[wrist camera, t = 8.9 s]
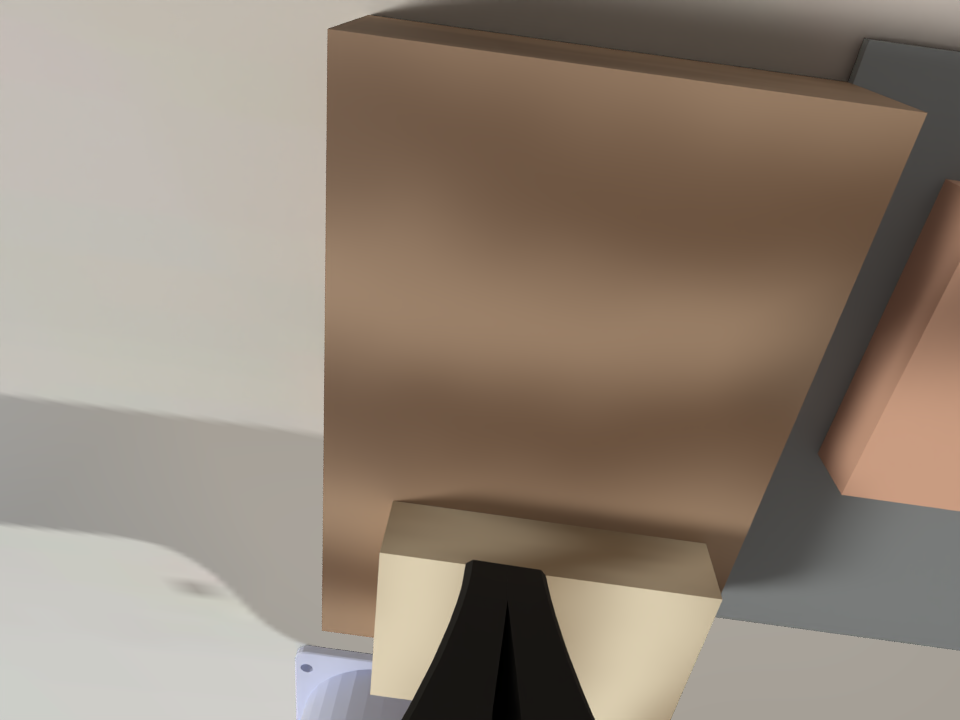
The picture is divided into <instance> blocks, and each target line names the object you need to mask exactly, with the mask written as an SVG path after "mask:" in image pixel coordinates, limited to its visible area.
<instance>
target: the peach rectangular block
mask: <svg viewBox="0 0 960 720" xmlns="http://www.w3.org/2000/svg"><path fill="white" fill-rule="evenodd" d="M818 455H819V457H820V458H821V460H822V462H823V464H824V465H825V467H826V469H827V471H828V472H829V474H830V476H831V478H832V479H833V481H834V483H835V484H836V486H837V488H838V490H839V491H840V493H841V495H847V496H854V497H861V498H868V499H876V500H883V501H890V502H897V503H904V504H911V505H918V506H926V507H933V508H940V509H947V510H954V511H960V181H956V180H949V179H945V182H944V184H943V186H942V188H941V190H940V192H939V194H938V197H937V199H936V201H935V203H934V205H933V207H932V209H931V212H930V214H929V216H928V218H927V220H926V222H925V224H924V227H923V229H922V231H921V233H920V235H919V237H918V239H917V242H916V244H915V246H914V248H913V250H912V252H911V254H910V257H909V259H908V261H907V263H906V265H905V267H904V269H903V272H902V274H901V276H900V278H899V280H898V282H897V284H896V287H895V289H894V291H893V293H892V295H891V297H890V299H889V302H888V304H887V306H886V308H885V310H884V312H883V314H882V317H881V319H880V321H879V323H878V325H877V327H876V329H875V332H874V334H873V336H872V338H871V340H870V342H869V345H868V347H867V349H866V351H865V353H864V355H863V357H862V360H861V362H860V364H859V366H858V368H857V370H856V372H855V375H854V377H853V379H852V381H851V383H850V385H849V387H848V390H847V392H846V394H845V396H844V398H843V400H842V402H841V405H840V407H839V409H838V411H837V413H836V415H835V417H834V420H833V422H832V424H831V426H830V428H829V430H828V432H827V435H826V437H825V439H824V441H823V443H822V445H821V447H820V450H819V452H818Z"/></svg>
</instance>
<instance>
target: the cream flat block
mask: <svg viewBox="0 0 960 720" xmlns="http://www.w3.org/2000/svg"><path fill="white" fill-rule="evenodd" d="M471 560H479V561H486V562H492V563H499V564H506V565H512V566H519V567H526V568H532V569H539V570H542V571H543V573H544V574H545V575H546V578H547V583H548V588H549V592H550V596H551V600H552V603H553V607H554V610H555V614H556V617H557V621H558V624H559V627H560V630H561V633H562V636H563V639H564V642H565V645H566V648H567V651H568V653H569V656H570V659H571V661H572V664H573V667H574V669H575V672H576V674H577V677H578V680H579V682H580V685H581V687H582V690H583V692H584V695H585V697H586V700H587V702H588V704H589V707H590V709H591V712H592V714H593V716H594V718H595V720H671V717H672V715H673V713H674V711H675V708H676V706H677V704H678V701H679V699H680V697H681V694H682V692H683V690H684V687H685V685H686V683H687V681H688V678H689V676H690V674H691V671H692V669H693V666H694V664H695V662H696V660H697V657H698V655H699V653H700V651H701V648H702V646H703V644H704V641H705V639H706V637H707V634H708V632H709V630H710V627H711V625H712V623H713V621H714V618H715V616H716V614H717V611H718V609H719V607H720V604H721V602H722V600H723V599H722V596H721V593H720V589H719V586H718V582H717V579H716V576H715V572H714V569H713V566H712V562H711V559H710V556H709V552H708V549H707V546H706V544H704V543H697V542H690V541H683V540H675V539H668V538H661V537H653V536H646V535H639V534H632V533H624V532H617V531H610V530H602V529H595V528H588V527H580V526H573V525H566V524H559V523H551V522H544V521H537V520H529V519H522V518H515V517H508V516H500V515H493V514H486V513H478V512H471V511H464V510H456V509H449V508H442V507H435V506H427V505H420V504H413V503H405V502H398V501H393V503H392V507H391V511H390V514H389V518H388V522H387V526H386V530H385V534H384V538H383V542H382V546H381V549H380V555H379V570H378V585H377V600H376V615H375V630H374V646H373V660H372V675H371V690H370V695H376V696H384V697H391V698H399V699H406V700H413V698H414V696H415V694H416V692H417V690H418V688H419V686H420V684H421V682H422V680H423V678H424V677H425V675H426V673H427V671H428V669H429V667H430V665H431V663H432V661H433V659H434V656H435V654H436V652H437V649H438V647H439V645H440V643H441V640H442V638H443V636H444V634H445V631H446V629H447V627H448V624H449V622H450V619H451V616H452V614H453V611H454V608H455V606H456V603H457V600H458V597H459V593H460V590H461V586H462V581H463V575H464V570H465V564H466V563H467V562H469V561H471Z"/></svg>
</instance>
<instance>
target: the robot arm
mask: <svg viewBox="0 0 960 720" xmlns="http://www.w3.org/2000/svg"><path fill="white" fill-rule="evenodd" d="M372 660H373V654H368V653H361V652H354V651H346V650H339V649H332V648H324V647H317V646H310V645H305V646H302V647H300V648H299V649H298V651H297V654H296V657H295V676H296V720H595V718H594V716H593V714H592V712H591V709H590V707H589V704H588V702H587V700H586V697H585V695H584V692H583V690H582V687H581V685H580V682H579V680H578V677H577V674H576V672H575V669H574V667H573V664H572V661H571V659H570V656H569V653H568V651H567V648H566V645H565V642H564V639H563V636H562V633H561V630H560V627H559V624H558V621H557V617H556V614H555V610H554V607H553V603H552V600H551V596H550V592H549V588H548V583H547V578H546V575H545V574H544V573H543V571H542V570H539V569H532V568H526V567H519V566H512V565H506V564H499V563H492V562H486V561H479V560H471V561H469V562H467V563H466V564H465V570H464V575H463V581H462V586H461V590H460V593H459V597H458V600H457V603H456V606H455V608H454V611H453V614H452V616H451V619H450V622H449V624H448V627H447V629H446V631H445V634H444V636H443V638H442V640H441V643H440V645H439V647H438V649H437V652H436V654H435V656H434V659H433V661H432V663H431V665H430V667H429V669H428V671H427V673H426V675H425V677H424V678H423V680H422V682H421V684H420V686H419V688H418V690H417V692H416V694H415V696H414V698H413V700H406V699H399V698H391V697H384V696H376V695H370V690H371V675H372Z"/></svg>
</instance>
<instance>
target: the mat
mask: <svg viewBox="0 0 960 720" xmlns="http://www.w3.org/2000/svg"><path fill="white" fill-rule="evenodd" d="M849 83H852V84H854V85H857V86H860V87H862V88H865V89H867V90H870V91H872V92H875V93H878V94H880V95H883V96H885V97H888V98H891V99H893V100H896V101H898V102H901V103H903V104H906V105H909V106H911V107H914V108H916V109H919V110H921V111H924V112H927V115H926V118H925V120H924V122H923V125H922V127H921V129H920V132H919V134H918V136H917V139H916V141H915V143H914V146H913V148H912V150H911V153H910V155H909V157H908V160H907V162H906V164H905V167H904V169H903V171H902V174H901V176H900V178H899V181H898V183H897V185H896V188H895V190H894V192H893V195H892V197H891V199H890V202H889V204H888V206H887V209H886V211H885V213H884V216H883V218H882V220H881V223H880V225H879V227H878V230H877V232H876V234H875V237H874V239H873V241H872V244H871V246H870V248H869V251H868V253H867V255H866V258H865V260H864V262H863V265H862V267H861V269H860V272H859V274H858V276H857V279H856V281H855V283H854V286H853V288H852V290H851V293H850V295H849V297H848V300H847V302H846V304H845V307H844V309H843V311H842V314H841V316H840V318H839V320H838V323H837V325H836V327H835V330H834V332H833V334H832V337H831V339H830V341H829V344H828V346H827V348H826V351H825V353H824V355H823V358H822V360H821V362H820V365H819V367H818V369H817V372H816V374H815V376H814V379H813V381H812V383H811V386H810V388H809V390H808V393H807V395H806V397H805V400H804V402H803V404H802V407H801V409H800V411H799V414H798V416H797V418H796V421H795V423H794V425H793V428H792V430H791V432H790V435H789V437H788V439H787V442H786V444H785V446H784V449H783V451H782V453H781V456H780V458H779V460H778V463H777V465H776V467H775V470H774V472H773V474H772V477H771V479H770V481H769V484H768V486H767V488H766V491H765V493H764V495H763V498H762V500H761V502H760V505H759V507H758V509H757V512H756V514H755V516H754V519H753V521H752V523H751V526H750V528H749V530H748V533H747V535H746V537H745V540H744V542H743V544H742V546H741V549H740V551H739V553H738V556H737V558H736V560H735V563H734V565H733V567H732V570H731V572H730V574H729V577H728V579H727V581H726V584H725V586H724V588H723V591H722V593H721V596H722V599H723V600H722V602H721V604H720V607H719V609H718V611H717V614H716V616H715V617H718V618H726V619H732V620H740V621H747V622H754V623H762V624H769V625H776V626H784V627H791V628H799V629H806V630H814V631H820V632H828V633H835V634H843V635H850V636H857V637H864V638H872V639H879V640H886V641H894V642H901V643H908V644H915V645H916V644H917V645H923V646H930V647H937V648H945V649H952V650H960V511H954V510H947V509H940V508H933V507H926V506H918V505H911V504H904V503H897V502H890V501H883V500H876V499H868V498H861V497H854V496H847V495H841V493H840V491H839V490H838V488H837V486H836V484H835V483H834V481H833V479H832V478H831V476H830V474H829V472H828V471H827V469H826V467H825V465H824V464H823V462H822V460H821V458H820V457H819V455H818V452H819V450H820V447H821V445H822V443H823V441H824V439H825V437H826V435H827V432H828V430H829V428H830V426H831V424H832V422H833V420H834V417H835V415H836V413H837V411H838V409H839V407H840V405H841V402H842V400H843V398H844V396H845V394H846V392H847V390H848V387H849V385H850V383H851V381H852V379H853V377H854V375H855V372H856V370H857V368H858V366H859V364H860V362H861V360H862V357H863V355H864V353H865V351H866V349H867V347H868V345H869V342H870V340H871V338H872V336H873V334H874V332H875V329H876V327H877V325H878V323H879V321H880V319H881V317H882V314H883V312H884V310H885V308H886V306H887V304H888V302H889V299H890V297H891V295H892V293H893V291H894V289H895V287H896V284H897V282H898V280H899V278H900V276H901V274H902V272H903V269H904V267H905V265H906V263H907V261H908V259H909V257H910V254H911V252H912V250H913V248H914V246H915V244H916V242H917V239H918V237H919V235H920V233H921V231H922V229H923V227H924V224H925V222H926V220H927V218H928V216H929V214H930V212H931V209H932V207H933V205H934V203H935V201H936V199H937V197H938V194H939V192H940V190H941V188H942V186H943V184H944V182H945V179H949V180H956V181H960V52H959V51H952V50H945V49H937V48H930V47H923V46H916V45H909V44H902V43H895V42H888V41H880V40H873V39H866V38H864V41H863V43H862V46H861V49H860V51H859V54H858V57H857V60H856V62H855V65H854V68H853V71H852V73H851V76H850V79H849Z"/></svg>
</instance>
